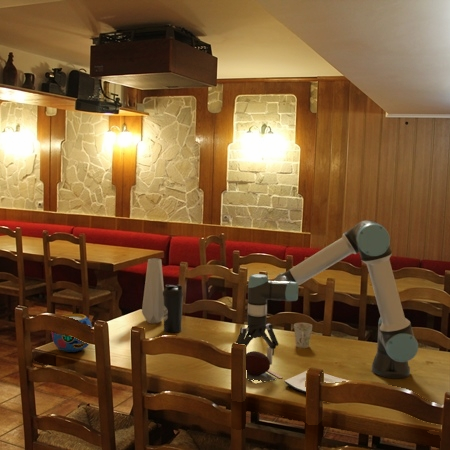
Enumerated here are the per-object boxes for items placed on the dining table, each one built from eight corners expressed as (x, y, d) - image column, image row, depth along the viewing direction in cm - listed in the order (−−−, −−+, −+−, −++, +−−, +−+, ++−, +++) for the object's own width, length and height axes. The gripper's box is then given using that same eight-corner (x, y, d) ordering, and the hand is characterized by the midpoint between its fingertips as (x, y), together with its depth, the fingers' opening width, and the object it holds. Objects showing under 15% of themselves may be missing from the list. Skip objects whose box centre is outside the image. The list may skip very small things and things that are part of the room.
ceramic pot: (60, 360, 237) (60, 325, 235) (46, 348, 251) (45, 315, 250) (99, 352, 247) (99, 319, 246) (83, 341, 262) (83, 309, 260)
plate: (355, 387, 217) (355, 381, 216) (326, 403, 202) (326, 396, 201) (310, 373, 230) (310, 367, 230) (280, 387, 215) (280, 380, 215)
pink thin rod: (282, 378, 223) (282, 377, 223) (280, 378, 223) (280, 378, 223) (261, 366, 236) (261, 365, 236) (258, 366, 235) (258, 365, 235)
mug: (311, 343, 267) (311, 323, 266) (312, 352, 255) (313, 330, 254) (293, 342, 268) (294, 322, 267) (293, 351, 256) (294, 329, 254)
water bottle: (160, 328, 285) (161, 283, 283) (180, 327, 288) (181, 282, 286) (164, 334, 276) (165, 287, 273) (184, 332, 279) (185, 286, 276)
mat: (276, 379, 222) (276, 378, 222) (255, 384, 217) (255, 383, 216) (254, 367, 234) (254, 366, 234) (234, 371, 229) (234, 370, 229)
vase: (156, 317, 306) (157, 256, 302) (169, 322, 297) (170, 259, 293) (137, 320, 298) (137, 258, 294) (149, 325, 289) (150, 262, 285)
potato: (245, 368, 232) (246, 346, 231) (273, 373, 227) (274, 351, 226) (237, 375, 224) (237, 352, 223) (265, 380, 219) (266, 357, 218)
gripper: (277, 308, 232) (275, 358, 235) (224, 315, 219) (223, 368, 222) (288, 312, 226) (286, 364, 228) (235, 320, 213) (233, 374, 215)
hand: (255, 366), depth 225 cm, fingers open, 13 cm apart
